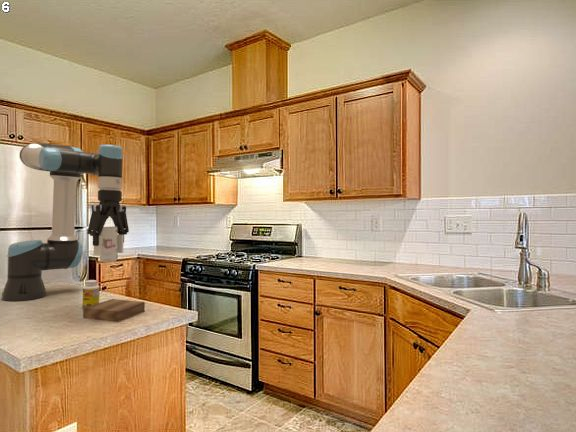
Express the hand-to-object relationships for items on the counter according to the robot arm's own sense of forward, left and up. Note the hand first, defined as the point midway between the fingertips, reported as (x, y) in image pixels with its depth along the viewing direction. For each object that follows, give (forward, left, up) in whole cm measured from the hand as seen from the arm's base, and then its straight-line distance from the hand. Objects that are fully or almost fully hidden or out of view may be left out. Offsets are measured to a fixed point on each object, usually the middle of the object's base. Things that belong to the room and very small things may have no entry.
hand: (108, 254), depth 130 cm
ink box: (0, 0, -2) cm, 2 cm away
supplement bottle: (-14, +7, -22) cm, 27 cm away
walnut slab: (+1, +2, -22) cm, 22 cm away
